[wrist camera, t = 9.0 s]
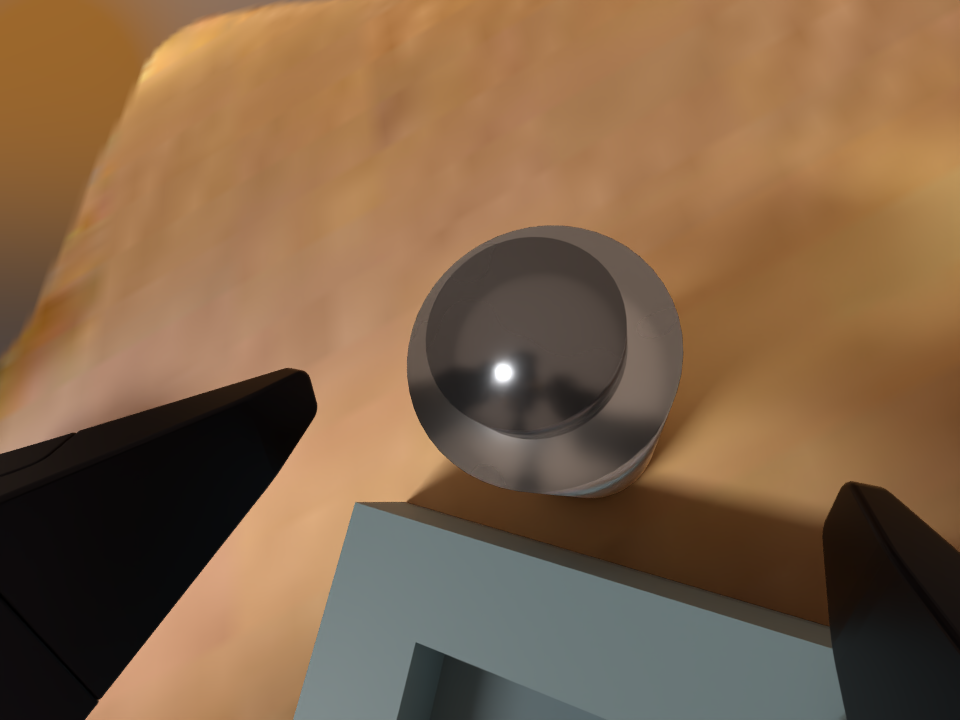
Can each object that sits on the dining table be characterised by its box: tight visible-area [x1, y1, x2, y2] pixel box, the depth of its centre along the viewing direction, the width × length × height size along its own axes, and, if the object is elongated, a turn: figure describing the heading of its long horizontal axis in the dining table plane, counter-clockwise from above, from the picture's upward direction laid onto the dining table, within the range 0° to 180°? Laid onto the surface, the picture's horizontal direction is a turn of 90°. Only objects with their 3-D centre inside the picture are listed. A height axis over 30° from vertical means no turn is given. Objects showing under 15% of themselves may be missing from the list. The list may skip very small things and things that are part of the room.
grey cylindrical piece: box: [407, 226, 683, 498], centre depth 12 cm, size 5×5×10 cm
